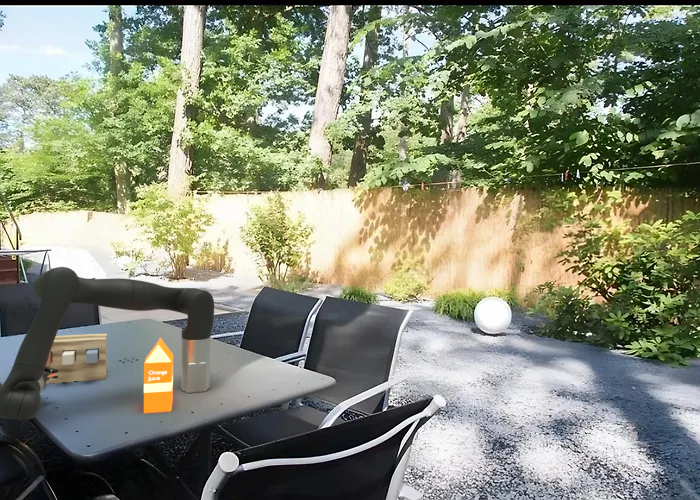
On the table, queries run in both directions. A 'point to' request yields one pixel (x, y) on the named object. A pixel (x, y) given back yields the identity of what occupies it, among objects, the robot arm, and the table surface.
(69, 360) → the white key
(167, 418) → the table surface
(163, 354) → the orange juice
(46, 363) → the red key
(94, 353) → the blue key
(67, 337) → the key box
